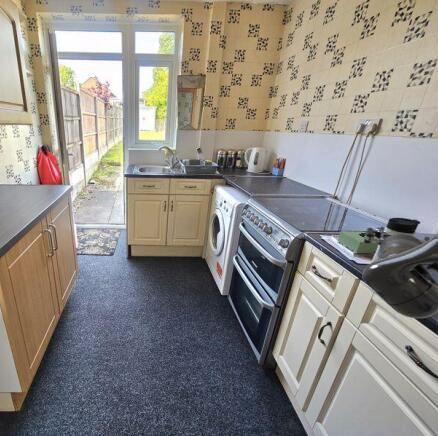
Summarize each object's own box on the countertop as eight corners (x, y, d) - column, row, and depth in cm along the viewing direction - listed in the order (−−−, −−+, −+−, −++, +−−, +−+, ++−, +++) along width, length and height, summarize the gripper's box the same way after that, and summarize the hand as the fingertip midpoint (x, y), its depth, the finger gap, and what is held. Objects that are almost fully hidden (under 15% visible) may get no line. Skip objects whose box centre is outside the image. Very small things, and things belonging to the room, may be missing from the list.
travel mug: (398, 284, 76) (426, 224, 69) (372, 279, 78) (397, 221, 71) (387, 273, 81) (412, 217, 74) (363, 269, 83) (385, 214, 76)
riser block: (360, 242, 103) (364, 231, 101) (381, 254, 94) (386, 242, 92) (337, 241, 103) (340, 231, 101) (355, 253, 94) (360, 242, 92)
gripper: (458, 252, 49) (449, 230, 59) (366, 230, 58) (372, 214, 69) (441, 283, 51) (435, 257, 62) (355, 258, 61) (363, 238, 71)
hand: (402, 235), depth 65 cm, fingers open, 8 cm apart
